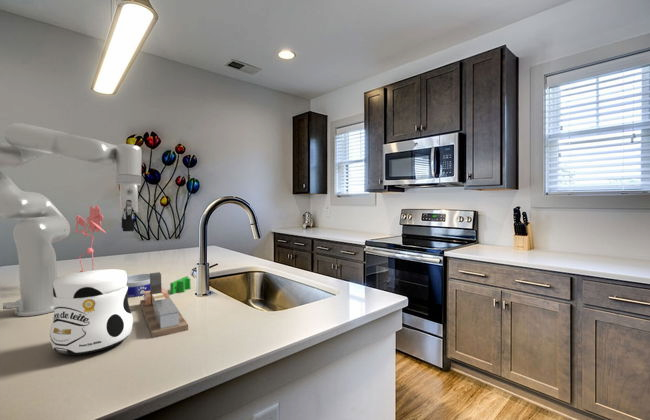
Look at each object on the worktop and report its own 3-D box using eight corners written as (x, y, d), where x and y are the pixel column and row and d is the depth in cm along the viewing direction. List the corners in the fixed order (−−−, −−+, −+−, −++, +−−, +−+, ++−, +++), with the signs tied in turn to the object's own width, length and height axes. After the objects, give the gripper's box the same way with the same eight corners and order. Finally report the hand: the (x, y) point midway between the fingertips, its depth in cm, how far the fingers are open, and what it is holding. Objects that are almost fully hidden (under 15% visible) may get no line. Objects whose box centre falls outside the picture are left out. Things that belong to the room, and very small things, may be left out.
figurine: (92, 291, 133) (91, 205, 132) (65, 283, 147) (64, 205, 146) (131, 283, 146) (130, 205, 145) (103, 276, 160) (102, 205, 159)
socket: (168, 301, 114) (167, 292, 114) (146, 305, 110) (145, 296, 110) (164, 296, 120) (164, 288, 120) (143, 300, 116) (143, 291, 116)
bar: (169, 313, 101) (168, 283, 100) (158, 316, 99) (157, 285, 99) (159, 297, 117) (158, 271, 117) (150, 299, 116) (149, 272, 115)
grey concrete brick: (179, 325, 92) (179, 310, 92) (160, 329, 90) (160, 314, 90) (170, 310, 104) (170, 297, 104) (153, 314, 102) (153, 300, 102)
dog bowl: (127, 300, 121) (127, 284, 121) (107, 294, 129) (106, 279, 129) (166, 290, 134) (165, 275, 134) (145, 285, 142) (144, 271, 142)
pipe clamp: (179, 295, 127) (179, 283, 127) (170, 294, 128) (170, 283, 127) (194, 287, 138) (194, 276, 138) (186, 286, 139) (185, 276, 139)
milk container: (38, 368, 73) (34, 288, 72) (64, 337, 89) (61, 272, 88) (128, 352, 80) (125, 279, 79) (137, 326, 96) (135, 266, 95)
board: (188, 329, 93) (188, 324, 93) (152, 337, 88) (152, 332, 88) (168, 299, 121) (168, 295, 120) (140, 304, 115) (140, 300, 115)
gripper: (143, 180, 108) (142, 232, 109) (138, 181, 122) (137, 227, 123) (116, 179, 104) (115, 232, 104) (115, 180, 118) (114, 227, 119)
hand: (127, 229), depth 114 cm, fingers open, 9 cm apart
